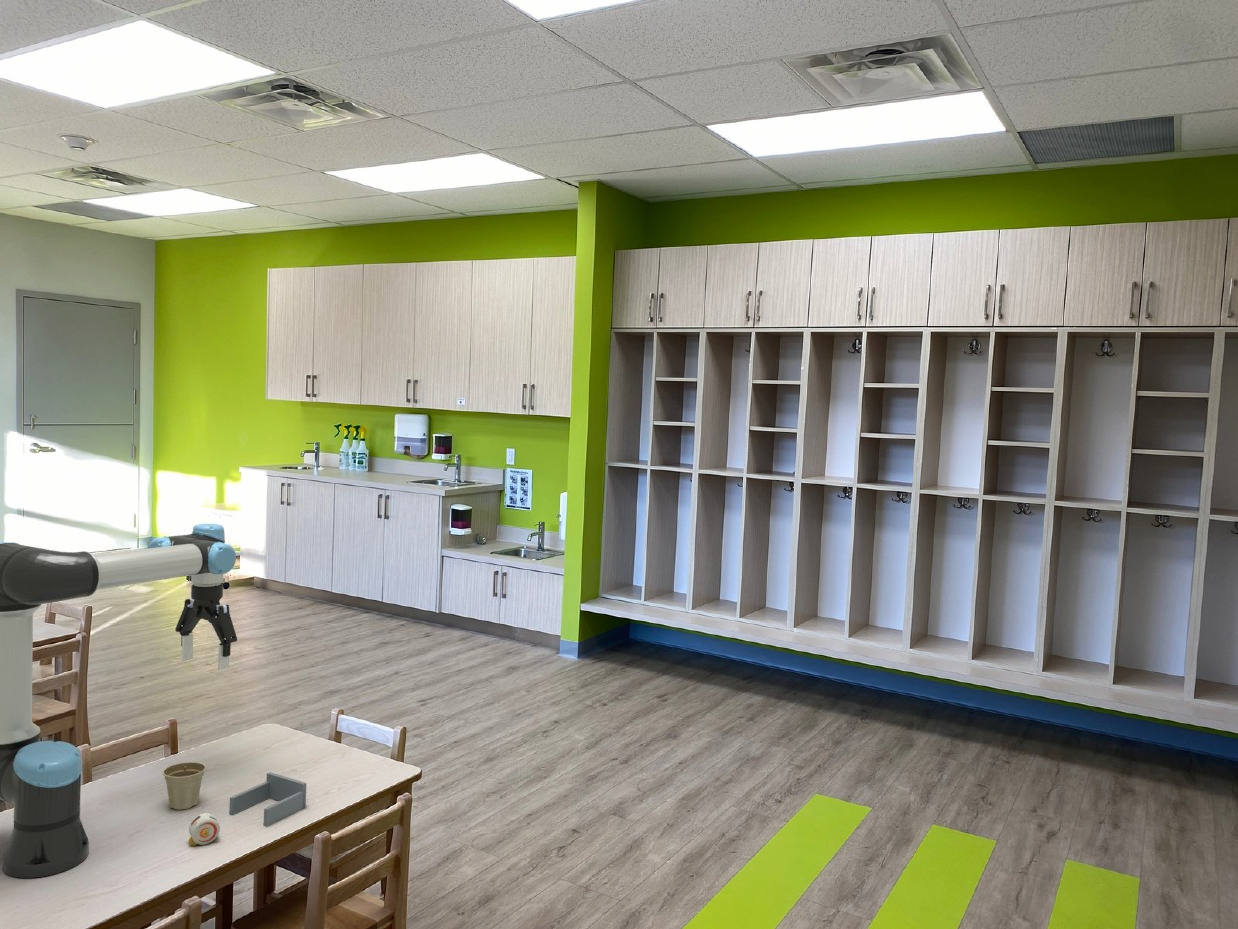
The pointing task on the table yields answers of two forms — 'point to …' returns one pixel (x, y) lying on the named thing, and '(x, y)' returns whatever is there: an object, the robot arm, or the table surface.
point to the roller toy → (203, 829)
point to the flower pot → (184, 784)
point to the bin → (272, 797)
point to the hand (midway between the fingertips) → (205, 664)
